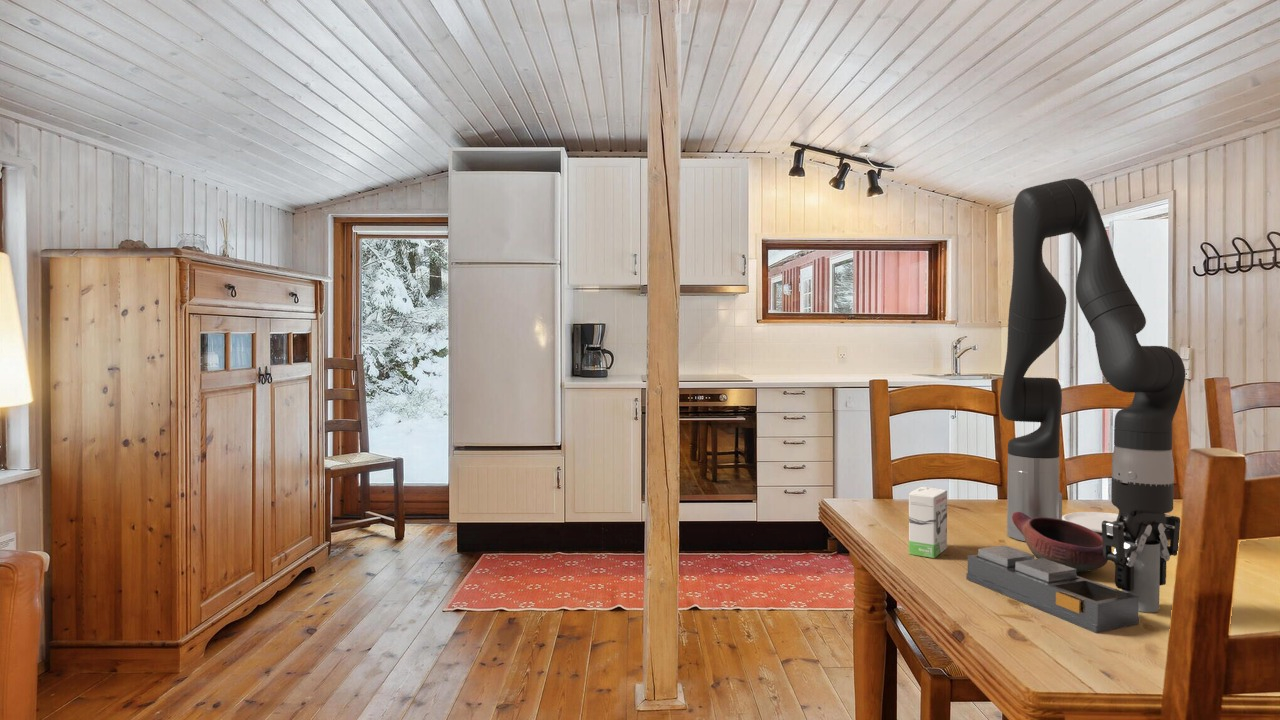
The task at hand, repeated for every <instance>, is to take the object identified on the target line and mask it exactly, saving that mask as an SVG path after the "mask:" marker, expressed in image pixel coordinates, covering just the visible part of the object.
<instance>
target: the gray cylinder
mask: <svg viewBox="0 0 1280 720" xmlns="http://www.w3.org/2000/svg"><path fill="white" fill-rule="evenodd" d="M1124 543H1126V544H1129V545H1134V543H1131V542H1127V541H1126V540H1125V539H1124ZM1128 552H1129V551H1127V550H1125V557H1127V555H1128ZM1132 567H1134V589H1133V591H1125V590H1122V589H1121V591H1123V592H1126V593H1129V594H1132V595H1135V596H1138V612H1141V613H1157V612H1159V611H1160V593H1161V591H1160V589H1161V588H1160V542H1159V541H1156V542H1155V544H1144V547H1143V550H1142V552H1141V553H1140V554H1137V556H1136V559H1135V561H1134V564H1133V566H1132Z"/></svg>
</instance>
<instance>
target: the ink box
mask: <svg viewBox="0 0 1280 720" xmlns="http://www.w3.org/2000/svg"><path fill="white" fill-rule="evenodd" d="M947 547H948V490H947V489H940V488H935V487H928V486H920V487H918V488H916V489H914V490H912V491H910V492H909V494H908V554H909V555H913V556H919V557H925V558H931V559H935V558H937V557H938V556H939V555H940V554H941V553H943V552H944V551H945V550H946V549H947Z"/></svg>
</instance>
